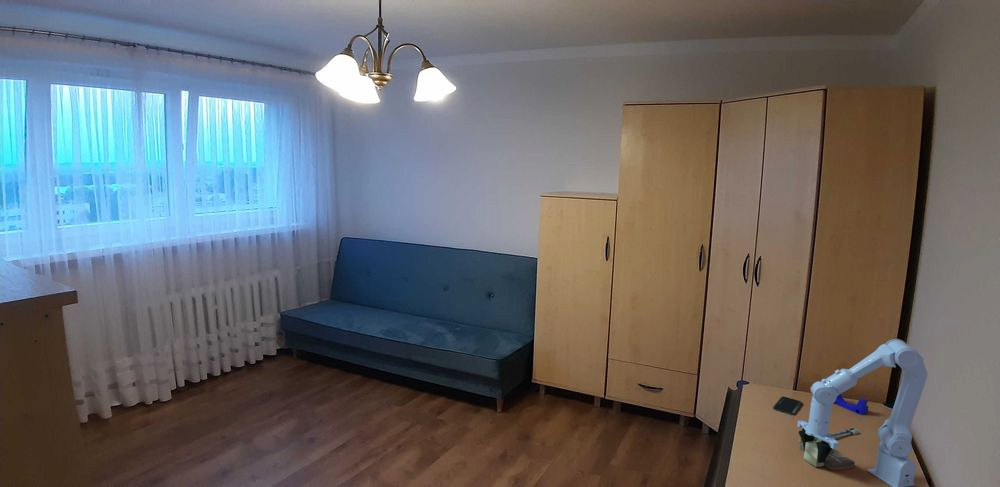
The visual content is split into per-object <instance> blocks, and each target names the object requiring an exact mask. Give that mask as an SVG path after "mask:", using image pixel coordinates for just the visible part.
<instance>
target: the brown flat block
mask: <svg viewBox="0 0 1000 487" xmlns="http://www.w3.org/2000/svg"><path fill="white" fill-rule="evenodd" d="M816 441H817V440H816ZM817 442H822V441H817ZM799 443H800V442H799ZM799 450H801V451H803V452H804V448H803V443H800V444H799ZM832 450H834V454H830V455H828V456H827V458H826V460H825V462H824V465H823V467H826V468H827V469H828V470H830V471H837V470H844V469H845V470H846V469H852V468H855V463H856V462H855V461H854V460H853V459H851V458H849V457H848V456H846V455H845V454H843V453H841V451H839V450H837V449H832Z"/></svg>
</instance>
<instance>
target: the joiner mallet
mask: <svg viewBox="0 0 1000 487" xmlns="http://www.w3.org/2000/svg"><path fill="white" fill-rule="evenodd" d="M803 453H804V454H803V459H804V460H805V461H807V462H808V463H809V464H811V465H812V466H813V467H815V468H818V467H824V463H819V462H818V460H817V457H818V448H817V444H816V442H814V441H808V442H806V445H805V452H804V451H803ZM830 454H834V450H831V452H830V453H829V454H828V455H830Z"/></svg>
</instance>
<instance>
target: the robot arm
mask: <svg viewBox="0 0 1000 487" xmlns="http://www.w3.org/2000/svg"><path fill="white" fill-rule="evenodd" d="M896 364H897V365H898V366H899V367H900V368H901V370H902V371H903V373H904V374H903V377H902V380H901V382H900V383H901V384H900V386H899V389H898V392H897V395H896V398H895V402H894V405H893V407H892V410H891V413H890V416H889V418H887V419H885V420H884V422H883V424H882V426H880V427H879V428H878V430H877V437H878V438H879V440H880V442H879V445H878V450H877V456H876V461H875V462H876V463H875V468H868V469H867V472H868V473H870V474H872V475H873V476H875V477H877V478H878V479H879V480H881V481H882V482H884V483H885V484H887V485H889V486H890V487H914V486H915V485H916V484H915V482H914V480H915V477H916V469H917V467H916V464H915V462H914V461H913V460H911V458H909V457H908V456H909V455H910V454H911V453H912V452H913V445H912V439H913V435H912V430H911V426H912V422H913V419H914V416H915V414H916V412H917V408H918V406H919V402H920V399H921V396H922V394H923V390H924V387H925V385H926V382H927V378H928V370H927V368H926V365H925V362H924V357H923V356H922V355H921V354H920V353H919V352H918V351H917V350H915V349H914V348H912V347H911V346H910V345H908V343H906V342H905V341H904V340H902V339H899V338H894V339H890V340H888V341H887V342H885V343H883V344H881V345H879V346H878V348H877V349H876V350H874V352H872V353H870V354H869V355H867V356H866V357H865V358H863V359H862V360H860V361H859V362H858V363H856V364H855V365H853V366H852V367H850V368H849V369H848V368H841V369H840V370H839V369H836V370H834V373H832V375H829V376H828V377H826V378H822V379H821V381H819V380H818V381H815V382H814V383H813V384H812V386H809V387H810V390H809V391H810V393H811V394H812V397H811V402H810V408H809V409H810V410H809V414H808V415H809V416H808V422H806V421H805V420H804V419H803V420H797V427H798V428H801V430H799V431H798V435H799V437H800V439H802V443H803V448H804V451H803V453H804V452H805V445H806V442H808V441H814V440H815V437H816V438H819V439H820V440H822V442H816V444H817V448H818V457H817V460H818V462H819V463H824V462H825V460H826V458H827V456H828V454H829V453H830V452H831V450H832V449H835V450H837V449H839V444H840V443H839V442H838V441H836V440H837V439H836V438H835V439H834V438H833V437H834V436H831V435H830V434H831V433H829V429H830V421H831V416H832V405H833V404H834V402H835V401H836V398H837V396H838V395H839V394H841V395H842V394H843V393H844V392H846V391H847V390H849V389H851V388H853V387H854V386H856V385H857V383H858V380H859V378H860V379H861V378H862V377H863V376H866V375H868V374H869V373H872V372H873V371H875V370H876V369H879V368H881V367H890V368H896V367H897V366H896Z"/></svg>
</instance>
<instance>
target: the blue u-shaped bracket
mask: <svg viewBox="0 0 1000 487" xmlns="http://www.w3.org/2000/svg"><path fill="white" fill-rule="evenodd" d="M833 404H834V405H836V406H838V407H840V408H843V409H846V410H847V411H850V412H852V413H855V414H857V415H860V416H862V415H867V414H868V412H869V406H868V405H867V404H868V399H866V398H861V399H858V402H857V403H856V404H855V403H849V402H848V401H846V400H845V399H844V397H843V395H842V393H841V394H839V395H838V396H837V398H836V401H835V402H834V403H833Z"/></svg>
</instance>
